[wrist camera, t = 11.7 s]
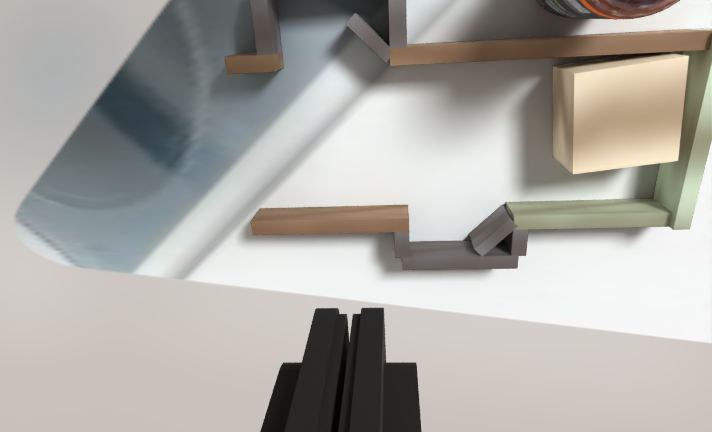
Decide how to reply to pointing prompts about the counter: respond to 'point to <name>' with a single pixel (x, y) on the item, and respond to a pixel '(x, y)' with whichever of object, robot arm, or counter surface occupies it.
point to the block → (618, 111)
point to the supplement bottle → (606, 8)
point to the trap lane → (511, 224)
